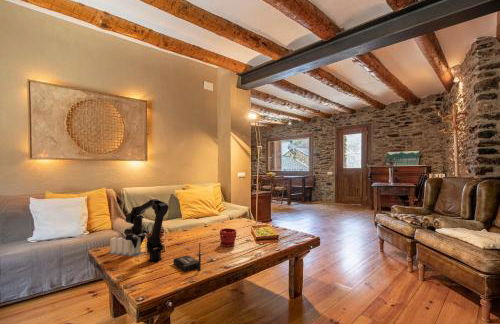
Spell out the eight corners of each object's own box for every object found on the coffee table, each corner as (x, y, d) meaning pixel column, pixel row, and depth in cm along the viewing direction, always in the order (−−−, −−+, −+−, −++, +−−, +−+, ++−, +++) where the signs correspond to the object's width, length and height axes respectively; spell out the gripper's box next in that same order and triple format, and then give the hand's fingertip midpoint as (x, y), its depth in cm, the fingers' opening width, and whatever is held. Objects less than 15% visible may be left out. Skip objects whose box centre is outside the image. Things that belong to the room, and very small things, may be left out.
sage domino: (140, 251, 180) (140, 237, 180) (136, 253, 175) (136, 239, 175) (138, 251, 180) (138, 237, 180) (134, 253, 175) (134, 239, 175)
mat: (144, 253, 181) (144, 252, 181) (136, 257, 173) (136, 256, 173) (114, 250, 187) (114, 249, 187) (105, 254, 178) (105, 253, 178)
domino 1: (122, 251, 183) (122, 237, 183) (117, 253, 178) (117, 239, 178) (120, 251, 183) (121, 237, 183) (115, 253, 178) (115, 239, 178)
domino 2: (128, 251, 182) (128, 238, 182) (123, 254, 177) (123, 240, 177) (126, 251, 182) (126, 237, 182) (122, 254, 177) (122, 240, 177)
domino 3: (134, 252, 181) (134, 238, 181) (129, 254, 176) (129, 240, 176) (132, 252, 181) (133, 238, 181) (128, 254, 176) (128, 240, 176)
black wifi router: (170, 265, 160) (171, 238, 160) (190, 260, 170) (190, 234, 170) (185, 276, 145) (185, 246, 145) (206, 269, 155) (206, 241, 155)
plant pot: (228, 248, 191) (228, 233, 191) (216, 245, 199) (216, 230, 199) (239, 244, 201) (239, 229, 201) (227, 241, 209) (227, 227, 209)
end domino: (116, 250, 184) (116, 237, 184) (111, 253, 179) (111, 239, 179) (115, 250, 184) (115, 237, 184) (109, 253, 179) (109, 239, 179)
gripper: (136, 221, 188) (136, 241, 188) (118, 227, 170) (118, 250, 170) (149, 221, 186) (149, 242, 186) (132, 228, 168) (132, 251, 168)
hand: (137, 246), depth 177 cm, fingers closed on sage domino, 5 cm apart
